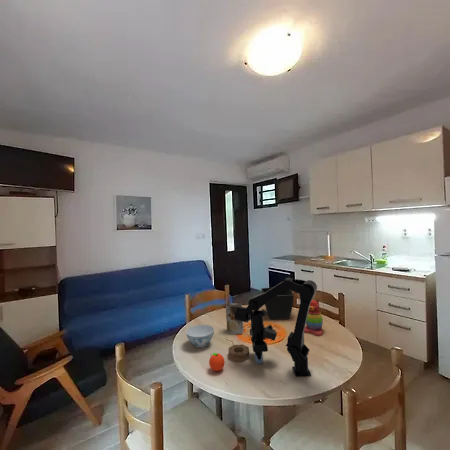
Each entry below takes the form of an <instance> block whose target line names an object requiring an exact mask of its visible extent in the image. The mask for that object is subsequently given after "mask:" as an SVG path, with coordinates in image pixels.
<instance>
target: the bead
mask: <svg viewBox="0 0 450 450" xmlns="http://www.w3.org/2000/svg"><path fill="white" fill-rule="evenodd" d="M227 351H228V359H229V360H231V361H233V362H237V363H238V362H245V361H247V360H249V359H250V356H251V355H250V354H251V353H250V348H249V346H247V345H244V344H235V345H233V344H232V345H231V346H229V347H228V350H227Z"/></svg>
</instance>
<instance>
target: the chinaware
mask: <svg viewBox="0 0 450 450" xmlns="http://www.w3.org/2000/svg"><path fill="white" fill-rule="evenodd" d="M214 333H215V328H214V327H213V326H212V325H209V324H196V325H193V326H190V327H188V328H187V329H186V331H185V334H186V338H187V339H188V341H189V342H190V343H191V344H192V345H194V347H195V346H197V347H196V348H198V347H201V348H205V347H207V345H208V343H210V342H211V341H212V338H213V337H214ZM204 346H205V347H204Z"/></svg>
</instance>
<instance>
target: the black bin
mask: <svg viewBox="0 0 450 450" xmlns="http://www.w3.org/2000/svg"><path fill="white" fill-rule="evenodd" d="M272 288H273V287H265V288H264V287H262V288H261V293H264V292H267V291H268V290H270V289H272ZM294 296H295V295H294V293H293V291H292V290H290V289H287V290H285V291H284V292H282V293H280V294H279V295H277V296H275V297H274V298H272V299H270V300H269V301H267V302H266V303H265V304H264V306H265V311H266V312H267V313H268V314H267V316H268V319H269V320H290V318H291V314H292V311H293V306H294Z"/></svg>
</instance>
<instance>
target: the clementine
mask: <svg viewBox="0 0 450 450" xmlns="http://www.w3.org/2000/svg"><path fill="white" fill-rule="evenodd" d="M209 356H210V357H209V361H208V365H209V367H210V369H211V370H212V371H215V372H220V371H222V370H223V368H224V367H225V364H226V362H225V358H224V356H223V354H220V353H217V352H213V353H211V354H210V355H209Z"/></svg>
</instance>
